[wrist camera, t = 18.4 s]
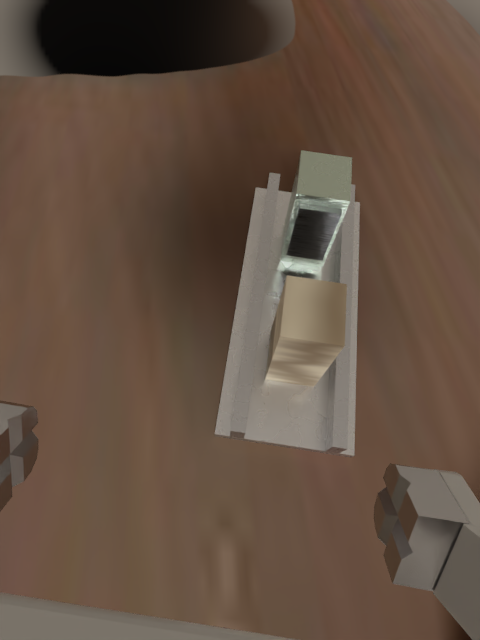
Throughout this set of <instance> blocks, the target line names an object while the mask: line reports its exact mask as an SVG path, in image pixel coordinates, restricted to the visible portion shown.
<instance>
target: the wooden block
mask: <svg viewBox="0 0 480 640" xmlns="http://www.w3.org/2000/svg"><path fill="white" fill-rule="evenodd" d="M346 296H347V284H342V283H335V282H329V281H322V280H315V279H309V278H302V277H295V276H289V275H287V277H286V280H285V283H284V287H283V290H282V294H281V297H280V301H279V304H278V308H277V311H276V314H275V318H274V321H273V325H272V328H271V334H270V342H269V351H268V359H267V367H266V375H265V380H272V381H278V382H285V383H291V384H298V385H304V386H311V387H314V386H315V385H316V384H317V382H318V381H319V380H320V378H321V377H322V376H323V374H324V373H325V372H326V370H327V369H328V368H329V366H330V365H331V364H332V362H333V361H334V360H335V358H336V357H337V356H338V354H339V353H340V352H341V350H342V349H343V348H344V346H345V324H346Z"/></svg>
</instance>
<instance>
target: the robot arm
mask: <svg viewBox="0 0 480 640" xmlns="http://www.w3.org/2000/svg"><path fill="white" fill-rule="evenodd" d="M37 423H38V417H37V410H36V409H35V408H34V407H33V406H28V405H22V404H17V403H11V402H6V401H0V511H1V510H2V509H3V508H4V506H5V505H6V504H7V502H8V501H9V500H10V499H11V497H12V487H13V486H15V485H17V484H19V483H21V482H23V481H25V479H26V478H27V476H28V475H29V474H30V472H31V471H32V468H33V466H34V464H35V461H36V459H37V453H38V438H37V437H36V436H35V434H34V433H33V432H32V429H33V428H34V427H35V426H36V425H37ZM383 479H384V481H385V484H386V488H384V489H383V490H382V491H380V492H379V493H378V495H377V498H376V502H375V506H374V523H375V529H376V532H377V536H378V538H379V539H380V540H381V541H382V542H383V543H384V544H385V545H386V549H385V552H384V558H385V562H386V565H387V568H388V571H389V574H390V577H391V580H392V583H393V584H397V585H403V586H408V587H413V588H419V589H424V590H429V591H434V593H433V594H434V595H435V596H436V597H437V598H438V600H439V601H440V602H441V603H442V604H443V606H444V607H445V608H446V609H447V610H448V612H449V613H450V614H451V615H452V616H453V617H454V619H455V620H456V621H457V622H458V623H459V625H460V626H461V627H462V628H463V629H464V631H465V632H466V633H467V634H468V635H469V636H470V638H471V639H472V640H480V503H479V501H478V500H477V498H476V497H475V495H474V494H473V492H472V491H471V489H470V488H469V486H468V485H467V483H466V482H465V480H464V478H463V477H462V476H461V475H460V474H458V473H457V472H451V471H443V470H435V469H434V470H431V469H424V468H417V467H411V466H404V465H397V464H389V466H388V467H387V468H386V471H385V474H384V477H383ZM0 640H297V639H291V638H285V637H279V636H272V635H266V634H260V633H254V632H247V631H241V630H235V629H229V628H222V627H216V626H210V625H203V624H197V623H191V622H185V621H178V620H172V619H166V618H159V617H153V616H147V615H140V614H134V613H128V612H121V611H115V610H109V609H102V608H96V607H90V606H84V605H77V604H71V603H65V602H58V601H52V600H46V599H39V598H33V597H27V596H21V595H14V594H8V593H2V592H0Z"/></svg>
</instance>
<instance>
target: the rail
mask: <svg viewBox="0 0 480 640" xmlns="http://www.w3.org/2000/svg"><path fill="white" fill-rule="evenodd" d="M351 174H352V158H351V157H344V156H337V155H330V154H323V153H316V152H309V151H302V150H301V154H300V158H299V162H298V167H297V171H296V175H295V180H294V184H293V188H292V192H285V191H278V189H279V181H280V174H276V173H269V180H268V186H267V189H264V188H257V187H256V189H255V195H254V201H253V207H252V213H251V219H250V225H249V231H248V237H247V243H246V249H245V255H244V261H243V267H242V273H241V279H240V285H239V291H238V297H237V303H236V309H235V315H234V321H233V327H232V333H231V339H230V345H229V351H228V357H227V363H226V369H225V375H224V381H223V387H222V393H221V399H220V405H219V411H218V417H217V423H216V429H215V436H218V437H224V438H230V439H237V440H243V441H250V442H256V443H262V444H269V445H275V446H282V447H288V448H294V449H301V450H307V451H314V452H320V453H326V454H333V455H339V456H346V457H353V456H354V443H355V398H356V353H357V308H358V263H359V218H360V202H355V185H352V184H351ZM287 275H289V276H295V277H302V278H309V279H315V280H322V281H329V282H335V283H342V284H347V296H346V324H345V346H344V348H343V349H342V350H341V352H340V353H339V354H338V356H337V357H336V358H335V360H334V361H333V362H332V364H331V365H330V366H329V368H328V369H327V370H326V372H325V373H324V374H323V376H322V377H321V378H320V380H319V381H318V382H317V384H316V385H315V386H314V387H311V386H304V385H298V384H291V383H285V382H278V381H272V380H265V375H266V367H267V359H268V351H269V342H270V334H271V328H272V325H273V321H274V318H275V314H276V311H277V308H278V304H279V301H280V297H281V294H282V290H283V287H284V283H285V280H286V277H287Z"/></svg>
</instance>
